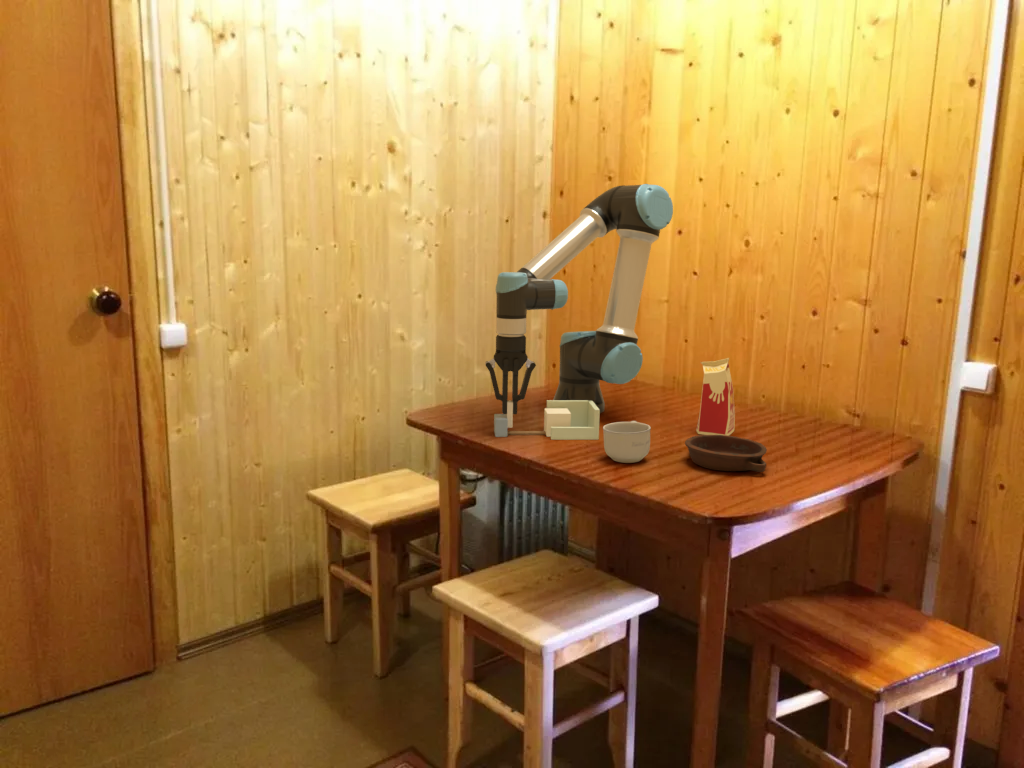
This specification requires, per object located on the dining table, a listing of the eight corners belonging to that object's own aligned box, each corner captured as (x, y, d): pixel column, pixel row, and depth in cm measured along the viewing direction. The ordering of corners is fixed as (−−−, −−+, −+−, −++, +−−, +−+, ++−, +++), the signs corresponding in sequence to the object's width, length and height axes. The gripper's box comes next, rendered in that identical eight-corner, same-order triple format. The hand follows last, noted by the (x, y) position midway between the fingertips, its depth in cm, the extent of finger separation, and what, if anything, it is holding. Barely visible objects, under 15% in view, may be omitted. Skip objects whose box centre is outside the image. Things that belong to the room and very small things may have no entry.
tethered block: (566, 430, 211) (567, 408, 210) (570, 436, 205) (570, 413, 204) (494, 430, 210) (494, 408, 208) (495, 436, 204) (495, 413, 202)
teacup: (637, 469, 179) (639, 434, 177) (593, 461, 184) (594, 427, 183) (661, 455, 190) (663, 422, 189) (619, 447, 196) (620, 415, 194)
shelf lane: (591, 428, 214) (592, 400, 213) (598, 439, 203) (599, 410, 201) (546, 428, 213) (546, 400, 212) (551, 439, 202) (552, 409, 201)
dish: (734, 484, 170) (736, 461, 169) (661, 458, 188) (662, 437, 187) (788, 471, 180) (790, 450, 179) (714, 448, 198) (715, 428, 197)
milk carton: (734, 430, 215) (739, 356, 211) (728, 438, 207) (733, 361, 203) (700, 426, 219) (704, 353, 215) (692, 433, 211) (697, 358, 207)
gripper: (535, 332, 206) (533, 422, 211) (484, 332, 205) (483, 422, 210) (538, 336, 199) (536, 429, 203) (485, 336, 198) (484, 430, 202)
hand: (509, 426), depth 206 cm, fingers closed
